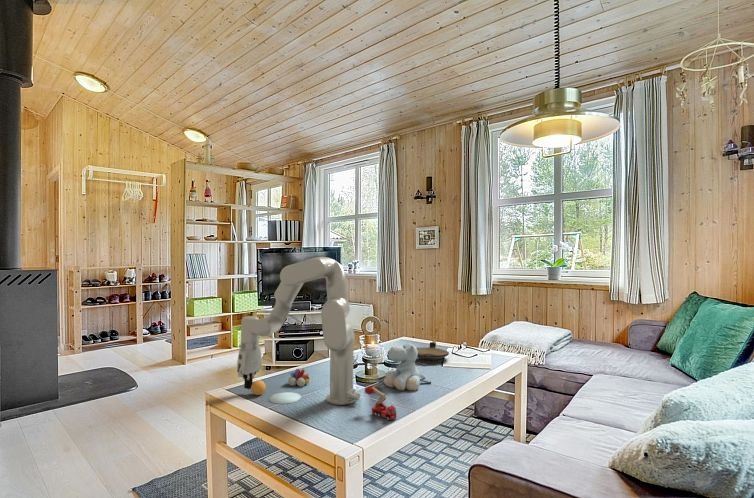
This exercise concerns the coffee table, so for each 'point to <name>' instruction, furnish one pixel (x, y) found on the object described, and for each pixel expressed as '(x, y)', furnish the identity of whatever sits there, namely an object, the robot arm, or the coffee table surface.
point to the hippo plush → (404, 368)
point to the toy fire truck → (381, 405)
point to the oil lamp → (431, 352)
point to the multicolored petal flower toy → (298, 378)
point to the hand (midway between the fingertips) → (248, 388)
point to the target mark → (285, 398)
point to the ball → (258, 387)
